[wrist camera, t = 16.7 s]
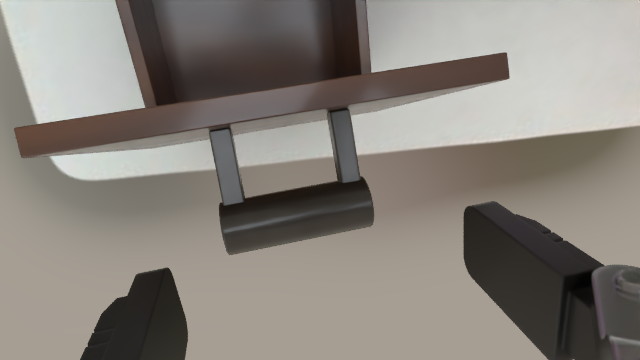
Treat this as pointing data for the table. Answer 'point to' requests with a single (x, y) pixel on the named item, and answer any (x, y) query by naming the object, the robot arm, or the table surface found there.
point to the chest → (241, 45)
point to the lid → (261, 114)
